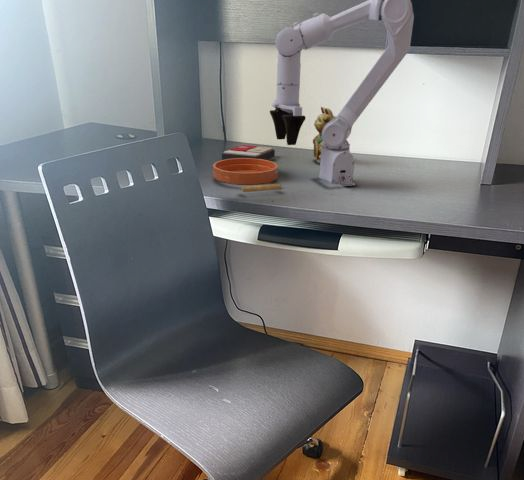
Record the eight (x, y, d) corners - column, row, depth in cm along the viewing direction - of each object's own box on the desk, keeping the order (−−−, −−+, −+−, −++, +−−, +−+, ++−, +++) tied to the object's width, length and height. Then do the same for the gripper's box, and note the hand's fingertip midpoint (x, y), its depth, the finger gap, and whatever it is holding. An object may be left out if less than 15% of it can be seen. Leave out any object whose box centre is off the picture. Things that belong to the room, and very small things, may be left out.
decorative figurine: (308, 158, 165) (311, 105, 157) (333, 157, 167) (337, 104, 159) (319, 165, 157) (323, 110, 149) (345, 164, 159) (350, 109, 151)
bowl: (286, 186, 138) (287, 170, 135) (223, 191, 133) (222, 175, 131) (265, 171, 151) (265, 156, 149) (207, 175, 146) (206, 159, 144)
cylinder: (277, 191, 134) (278, 182, 133) (280, 193, 132) (281, 184, 131) (240, 194, 131) (240, 185, 130) (243, 196, 129) (243, 187, 128)
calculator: (275, 146, 162) (257, 153, 149) (274, 161, 164) (256, 170, 151) (241, 143, 165) (221, 150, 153) (241, 158, 167) (221, 166, 155)
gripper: (263, 81, 138) (262, 137, 145) (283, 87, 126) (281, 148, 133) (288, 81, 140) (286, 136, 147) (311, 87, 128) (307, 146, 135)
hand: (286, 141), depth 140 cm, fingers open, 7 cm apart
